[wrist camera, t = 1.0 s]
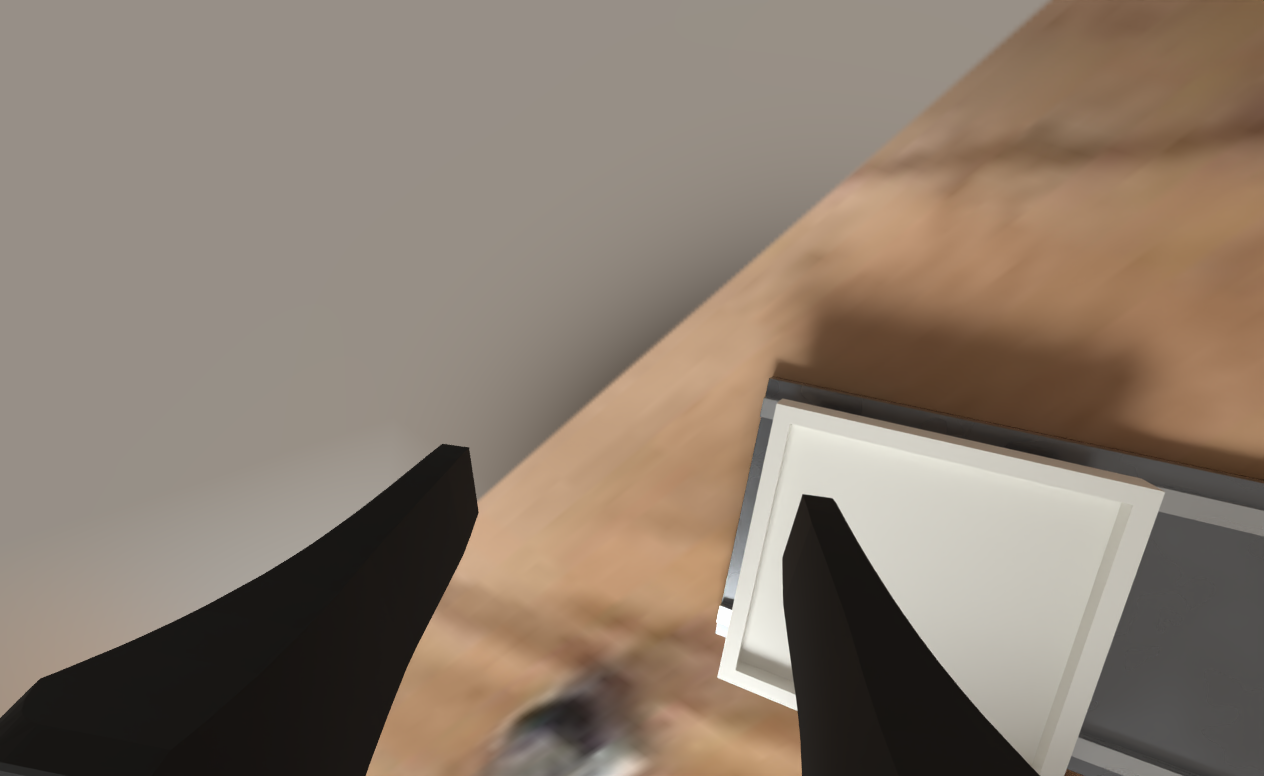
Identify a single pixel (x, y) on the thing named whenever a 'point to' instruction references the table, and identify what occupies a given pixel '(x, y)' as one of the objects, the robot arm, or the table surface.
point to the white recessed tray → (955, 563)
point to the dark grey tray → (1131, 601)
